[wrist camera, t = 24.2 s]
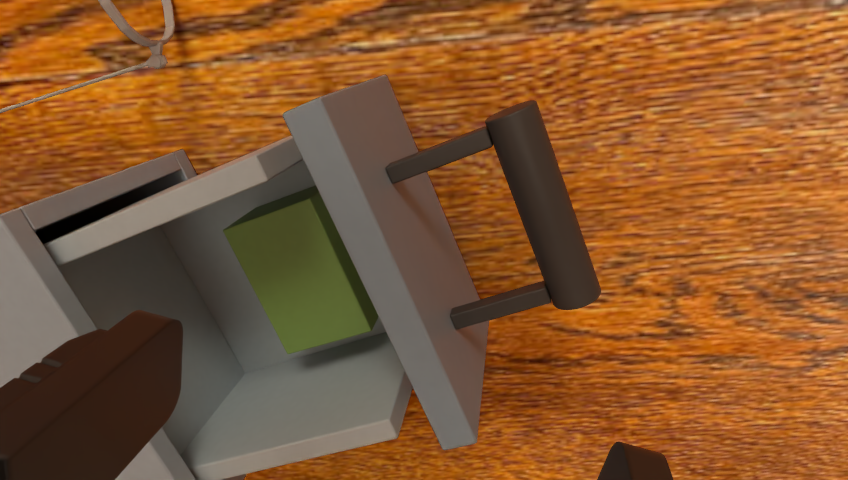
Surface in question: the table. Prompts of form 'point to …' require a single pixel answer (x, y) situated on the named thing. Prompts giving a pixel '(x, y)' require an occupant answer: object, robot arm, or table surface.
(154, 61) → the eyeglasses
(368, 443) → the drawer
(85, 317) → the cabinet
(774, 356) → the table surface
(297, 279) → the block
